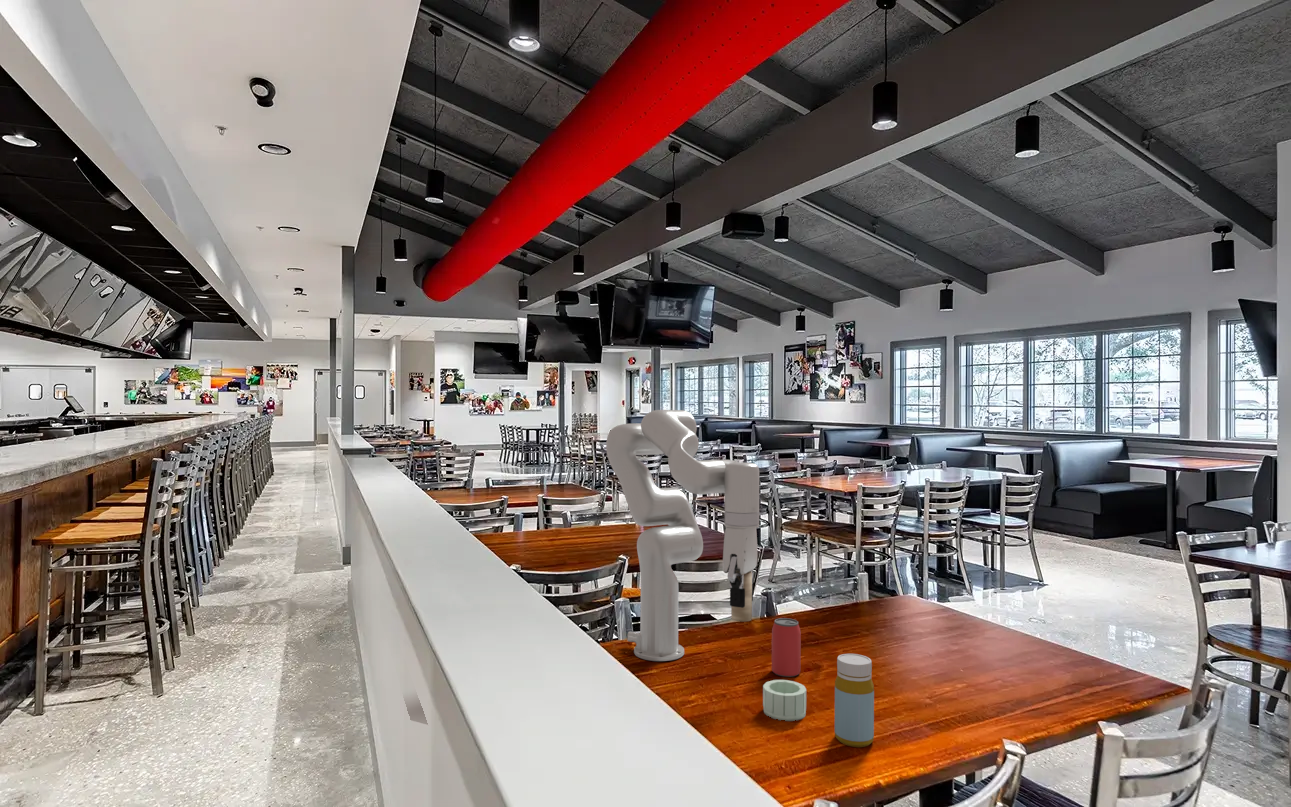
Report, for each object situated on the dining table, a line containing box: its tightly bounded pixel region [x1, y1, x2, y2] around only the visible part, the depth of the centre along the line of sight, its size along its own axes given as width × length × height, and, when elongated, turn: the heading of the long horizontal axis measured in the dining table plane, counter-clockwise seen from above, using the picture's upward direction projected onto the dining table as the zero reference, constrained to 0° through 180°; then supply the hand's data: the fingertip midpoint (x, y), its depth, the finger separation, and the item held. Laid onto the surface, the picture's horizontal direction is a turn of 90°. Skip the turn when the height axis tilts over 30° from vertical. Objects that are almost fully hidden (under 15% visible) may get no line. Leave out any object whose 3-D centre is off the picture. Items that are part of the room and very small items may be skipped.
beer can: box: [771, 617, 802, 678], centre depth 170 cm, size 7×7×12 cm
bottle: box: [834, 653, 875, 748], centre depth 136 cm, size 7×7×15 cm
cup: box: [762, 679, 807, 722], centre depth 148 cm, size 8×8×5 cm
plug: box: [730, 570, 753, 622], centre depth 158 cm, size 4×4×10 cm
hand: (741, 602), depth 158 cm, fingers closed on plug, 4 cm apart
